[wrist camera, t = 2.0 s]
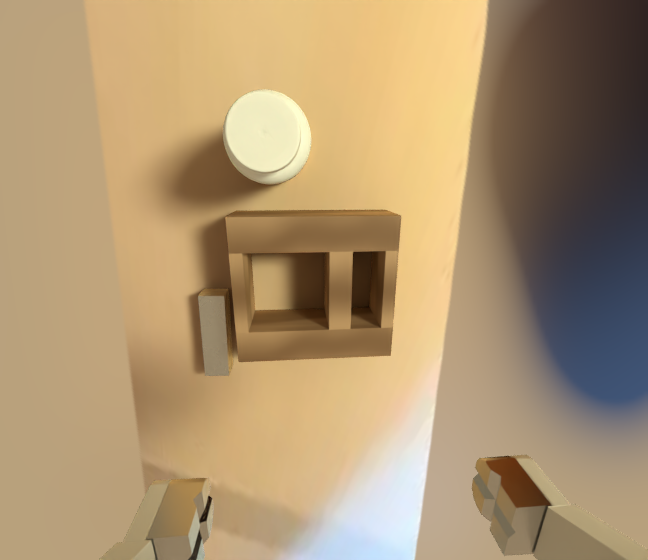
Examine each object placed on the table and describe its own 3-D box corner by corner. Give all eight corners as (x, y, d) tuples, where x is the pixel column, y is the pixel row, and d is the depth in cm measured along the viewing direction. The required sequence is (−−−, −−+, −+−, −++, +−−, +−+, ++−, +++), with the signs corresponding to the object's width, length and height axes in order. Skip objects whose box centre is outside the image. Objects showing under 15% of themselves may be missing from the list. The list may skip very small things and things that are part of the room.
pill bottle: (318, 165, 27) (330, 159, 18) (261, 193, 27) (243, 202, 18) (289, 99, 25) (285, 54, 16) (228, 130, 25) (190, 103, 16)
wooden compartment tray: (236, 210, 27) (225, 217, 23) (385, 209, 28) (401, 215, 24) (246, 336, 31) (238, 362, 27) (378, 331, 32) (390, 355, 28)
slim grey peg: (205, 287, 30) (197, 295, 27) (229, 287, 30) (224, 296, 28) (211, 362, 32) (205, 375, 30) (233, 362, 32) (229, 375, 30)
